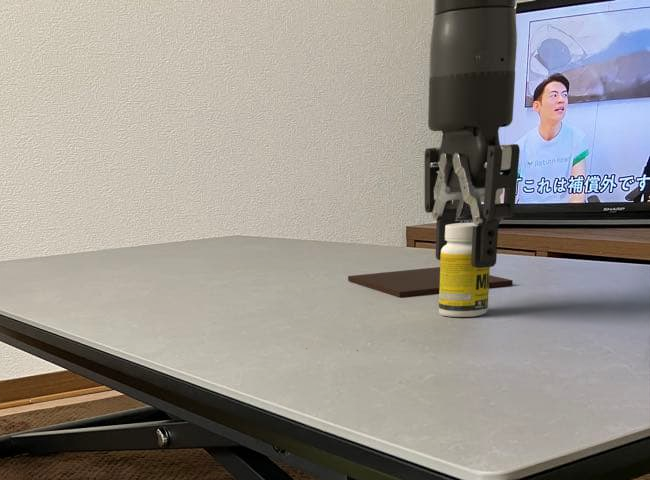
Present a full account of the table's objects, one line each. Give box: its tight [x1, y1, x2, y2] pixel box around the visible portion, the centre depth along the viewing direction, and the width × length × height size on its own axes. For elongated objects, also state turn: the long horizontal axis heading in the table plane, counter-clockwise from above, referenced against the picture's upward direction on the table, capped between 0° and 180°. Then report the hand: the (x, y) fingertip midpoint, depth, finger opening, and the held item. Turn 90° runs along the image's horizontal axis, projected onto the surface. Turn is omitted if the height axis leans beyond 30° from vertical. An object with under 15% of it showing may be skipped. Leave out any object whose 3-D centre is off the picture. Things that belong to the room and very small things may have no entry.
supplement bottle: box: [438, 222, 491, 318], centre depth 87 cm, size 5×5×8 cm
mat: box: [347, 266, 513, 298], centre depth 109 cm, size 14×16×1 cm
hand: (464, 262), depth 87 cm, fingers open, 7 cm apart
